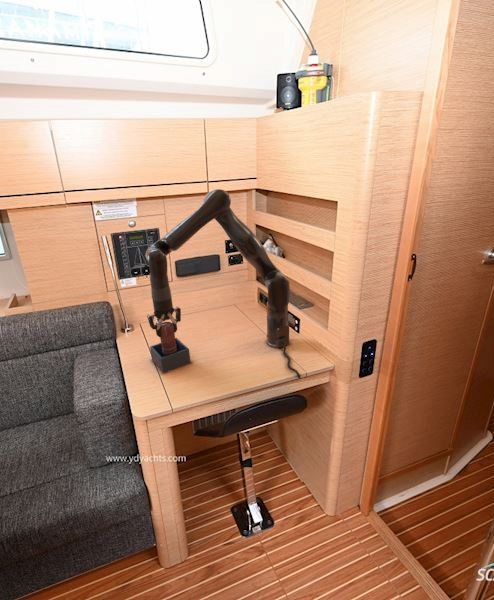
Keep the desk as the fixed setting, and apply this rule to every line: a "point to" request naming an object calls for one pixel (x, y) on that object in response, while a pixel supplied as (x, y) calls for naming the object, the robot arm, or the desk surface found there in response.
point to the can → (168, 338)
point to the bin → (170, 357)
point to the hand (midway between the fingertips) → (167, 333)
